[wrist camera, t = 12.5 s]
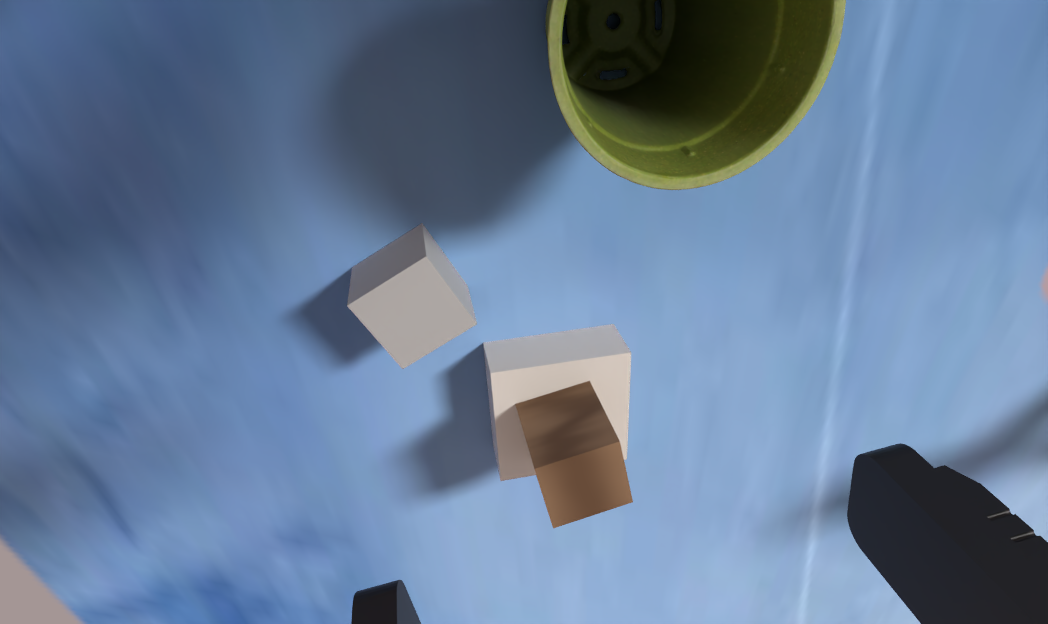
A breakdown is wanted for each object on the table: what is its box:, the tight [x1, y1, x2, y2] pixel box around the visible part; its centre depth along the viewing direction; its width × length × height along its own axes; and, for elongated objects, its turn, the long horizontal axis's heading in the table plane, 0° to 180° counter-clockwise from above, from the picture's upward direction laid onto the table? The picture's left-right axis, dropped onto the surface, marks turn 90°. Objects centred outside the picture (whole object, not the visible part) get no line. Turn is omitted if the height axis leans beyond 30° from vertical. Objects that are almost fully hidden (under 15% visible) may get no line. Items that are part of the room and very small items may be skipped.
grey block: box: [347, 224, 477, 369], centre depth 36 cm, size 5×5×5 cm
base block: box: [483, 324, 631, 481], centre depth 43 cm, size 9×9×4 cm
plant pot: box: [545, 0, 846, 190], centre depth 28 cm, size 12×12×11 cm
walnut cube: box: [515, 381, 633, 528], centre depth 38 cm, size 5×5×6 cm
